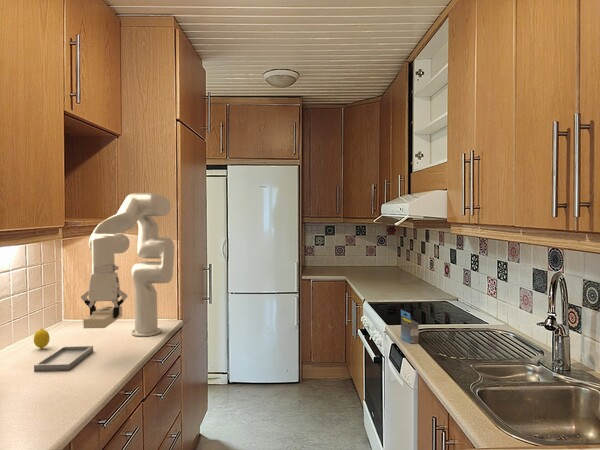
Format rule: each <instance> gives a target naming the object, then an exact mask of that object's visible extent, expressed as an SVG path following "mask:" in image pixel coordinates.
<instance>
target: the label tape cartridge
mask: <svg viewBox="0 0 600 450" xmlns="http://www.w3.org/2000/svg"><path fill="white" fill-rule="evenodd" d="M400 335H401V336H400V339H401V340H403V341H405V342H407V343H408V344H410V345H411V344H419V322H417V321H415V320H414V319H412V318H411V313H409V312H407V311H406V310H404V309H400Z"/></svg>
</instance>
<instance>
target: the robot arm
mask: <svg viewBox="0 0 600 450" xmlns="http://www.w3.org/2000/svg"><path fill="white" fill-rule="evenodd" d="M170 211H171V202H170V200H169V198H167V197H166V196H164V195H161V194H158V193H154V192H133V193H130V194H128V195H126V197H125V199H124V201H123V202H122V204H121V205H120V208H119V209H118V210H117V212H116V213H115V214H114V215H111V216H110V217H108V218H106V219H105V220H103V221H101V222H100V223H98V225H97V226H96V227H95V228H94V229H93V231H92V233H91V235H90V237H89V241H88V246H89V247H88V248H89V249H90V252H91V257H92V258H91V259H92V260H91V262H92V263H91V264H92V265H91V266H92V267H91V269H92V273H90V275H89V276H90V277H89V283H88V290H87V291H86V292H85V293H84V294H82V295H81V296H80V298H81V300H82V301H83V302H84V303H85V305H86V306H87V307H88V308H89V316H90V315H92V312H94V311H95V310H97V306H95V305H96V303H97V302H111V303H112V304H113V306H115V307H114V308H113V312H114V319H115V318H117V317H118V316H119V306H122V304H123V303H125V300H127V298H128V294H126V293H125V292H124V291H122V290H121V287H120V280H119V279H120V278H119V275H118V272H117V270H119V266H117V265H116V263H115V262H116V261H115V254H119V255H120V254H123V253H126V252H127V250H128V249H129V247H130V244H131V243H130V239H129V237H128V236H127V235H126V234H123V233H122V232H126V231H128V230H131V229H134V227H136V225H138V235H137V246H136V249H137V251H136V252H137V255H138V257H139V258H140V259H151V260H154V259H157V260H161V261H138V262H136V263H134V264H133V266H132V268H131V278H132V281H133V290H134V292H133V293H134V329H132V331H131V335H132V336H135V337H151V336H156V335H160V334H161V333H162V328H160V327H158V322H159V321H158V291H157V289H156V288H155V286H154V285H153V284H168V283H170V282H171V281H172V279H173V276H174V265H175V264H174V263H175V245H174V244H175V243H174V241H173V239H171V238H170V237H167V236H161V237H160V236H159V229H160V228H159V224H158V223H157V221H156V219H154V218H153V217H165V216H168V215H169V213H170ZM119 298H120V299H119Z"/></svg>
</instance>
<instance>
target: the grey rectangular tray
mask: <svg viewBox="0 0 600 450" xmlns="http://www.w3.org/2000/svg"><path fill="white" fill-rule="evenodd" d="M92 353H94V345H82V346H81V345H78V346H77V345H75V346H73V345H71V346H61V347H60V348H58V349H56V350H55V351H54V352H52V353H51V354H49V355H47V356H45V357H44V358H42V359H41V360H39V361H38V362H36V363H35V364H34V365H33V372H67V371H68V372H70V370H72V369H73V368H75V367H76V366H77V365H78V364H79V363H81V362H82V361H84V360H85V359H86V358H87V357H89V356H90V355H91V354H92Z"/></svg>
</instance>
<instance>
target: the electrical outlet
mask: <svg viewBox="0 0 600 450" xmlns="http://www.w3.org/2000/svg"><path fill="white" fill-rule="evenodd" d="M114 307H115V306H114V305H102V306H101V307H99V308H96V310H95V311H94V312H92V315H90V314H89V316H86V317H85V318H83V323H82V324H83V329H106V328H107V327H108V326H110V325H111V324H112V323H114V322H116V321H117V320H119V319H121V318H122V317H123V306H122V305H120V306H119V316H118V317H117V318H115V319H114V312H113V308H114Z"/></svg>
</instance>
